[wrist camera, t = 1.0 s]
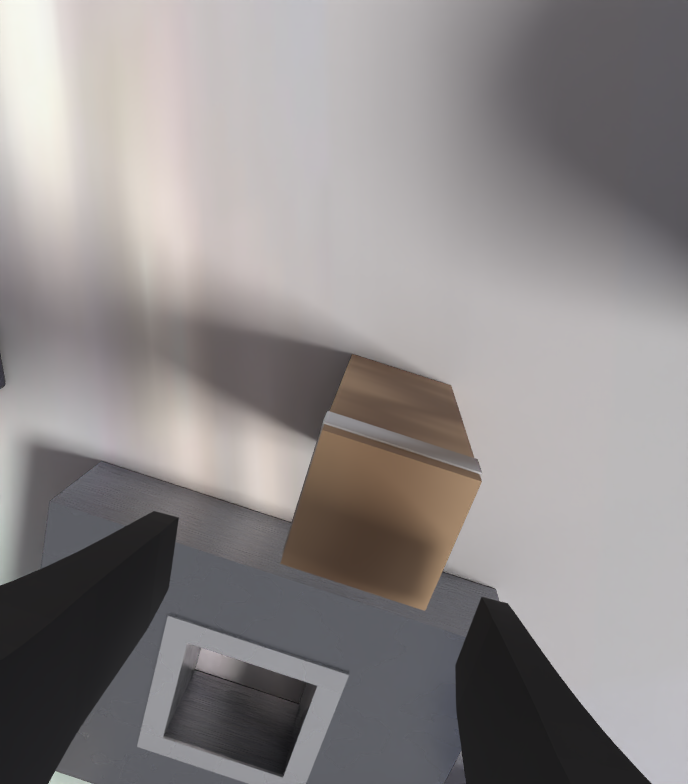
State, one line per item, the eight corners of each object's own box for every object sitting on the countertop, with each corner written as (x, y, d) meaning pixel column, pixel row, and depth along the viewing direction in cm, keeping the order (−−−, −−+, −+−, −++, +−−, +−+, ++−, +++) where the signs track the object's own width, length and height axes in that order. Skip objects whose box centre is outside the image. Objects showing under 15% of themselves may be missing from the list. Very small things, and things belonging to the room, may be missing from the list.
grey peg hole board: (496, 589, 22) (513, 654, 19) (393, 801, 27) (391, 885, 23) (101, 461, 23) (47, 502, 19) (63, 692, 27) (14, 760, 24)
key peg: (452, 384, 20) (484, 480, 12) (417, 475, 21) (426, 612, 14) (351, 352, 20) (320, 427, 12) (322, 444, 21) (277, 564, 14)
